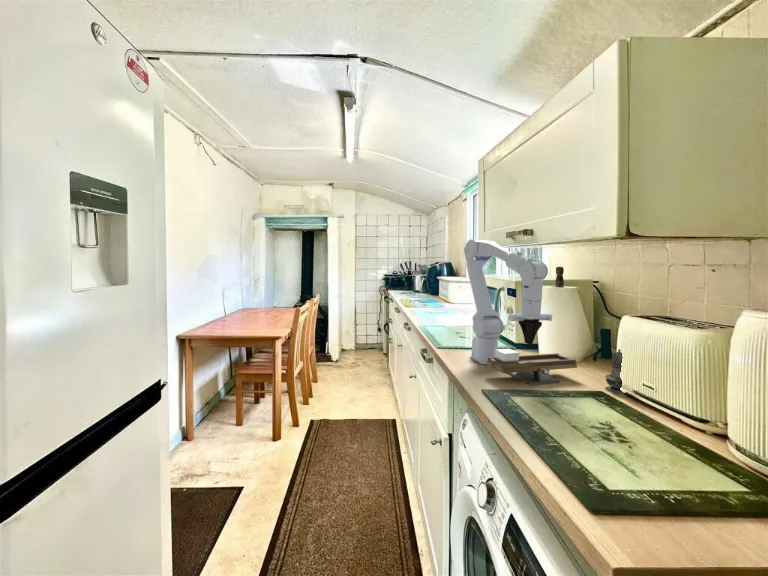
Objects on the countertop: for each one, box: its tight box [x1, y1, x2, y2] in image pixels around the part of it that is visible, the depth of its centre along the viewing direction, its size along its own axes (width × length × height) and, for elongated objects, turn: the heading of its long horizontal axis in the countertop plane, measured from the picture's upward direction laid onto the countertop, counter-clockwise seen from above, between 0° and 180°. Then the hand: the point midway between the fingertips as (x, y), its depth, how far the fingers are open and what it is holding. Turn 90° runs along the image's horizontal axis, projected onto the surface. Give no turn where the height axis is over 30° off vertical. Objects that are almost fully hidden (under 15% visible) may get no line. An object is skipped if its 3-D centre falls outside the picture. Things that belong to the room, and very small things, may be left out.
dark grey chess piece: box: [604, 348, 624, 395], centre depth 103 cm, size 6×6×12 cm
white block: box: [495, 348, 520, 364], centre depth 110 cm, size 5×5×4 cm
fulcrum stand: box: [507, 368, 560, 386], centre depth 113 cm, size 14×10×4 cm
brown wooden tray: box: [486, 353, 578, 374], centre depth 113 cm, size 9×26×2 cm, turn 106°
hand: (528, 343), depth 114 cm, fingers closed
